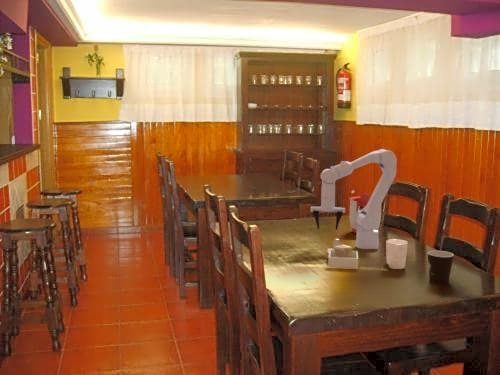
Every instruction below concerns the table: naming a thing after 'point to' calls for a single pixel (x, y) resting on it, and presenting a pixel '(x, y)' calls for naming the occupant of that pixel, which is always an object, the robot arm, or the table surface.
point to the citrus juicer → (356, 208)
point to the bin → (343, 261)
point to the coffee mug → (439, 266)
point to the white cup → (396, 253)
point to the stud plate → (334, 244)
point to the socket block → (343, 251)
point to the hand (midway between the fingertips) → (327, 228)
